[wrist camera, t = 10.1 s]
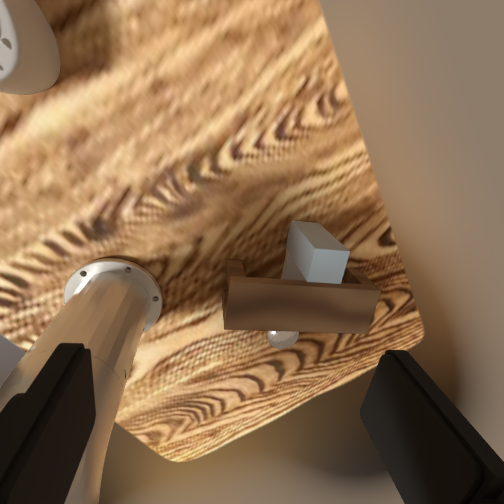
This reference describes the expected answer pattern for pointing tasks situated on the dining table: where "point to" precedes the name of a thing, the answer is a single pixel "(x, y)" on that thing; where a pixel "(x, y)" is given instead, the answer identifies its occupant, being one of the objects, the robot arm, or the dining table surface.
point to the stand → (298, 303)
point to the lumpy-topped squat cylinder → (26, 49)
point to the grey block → (313, 254)
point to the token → (282, 338)
